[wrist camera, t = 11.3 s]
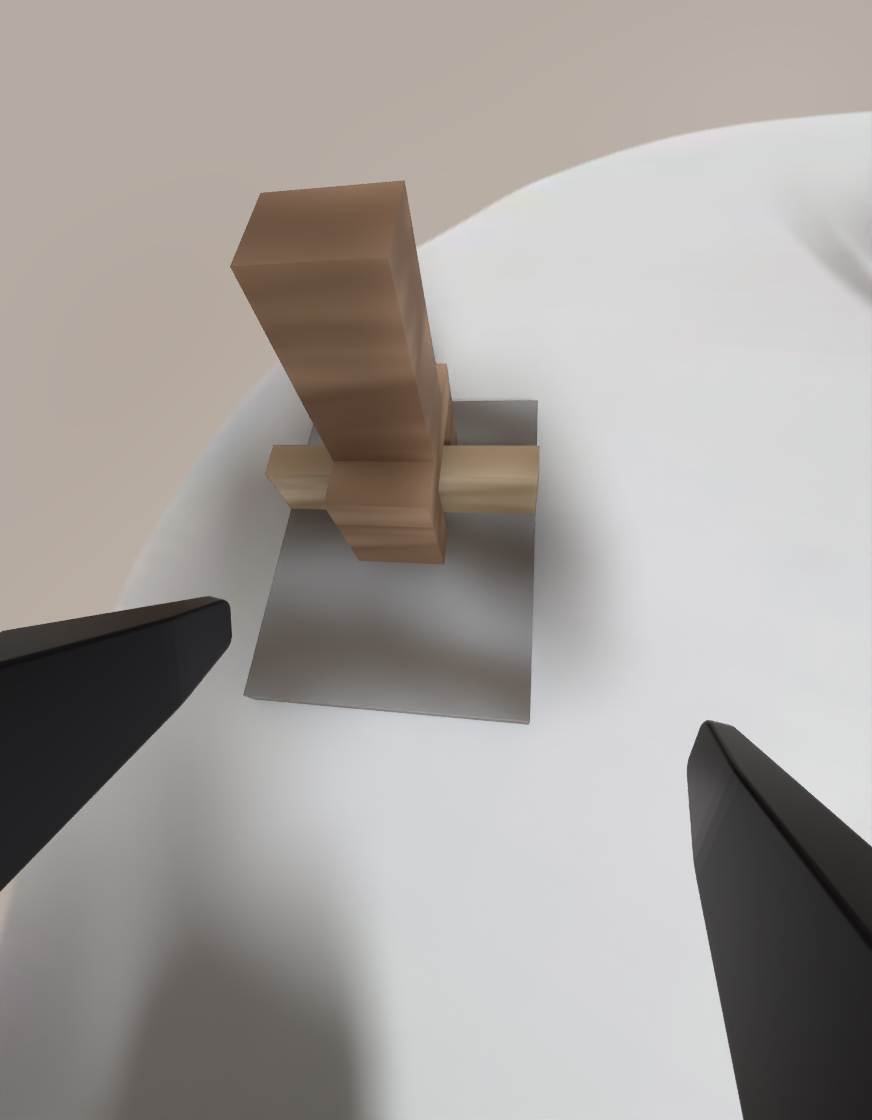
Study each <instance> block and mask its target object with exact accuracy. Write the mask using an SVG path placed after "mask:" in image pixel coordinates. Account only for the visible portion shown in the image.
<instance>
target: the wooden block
mask: <svg viewBox="0 0 872 1120" xmlns="http://www.w3.org/2000/svg"><path fill="white" fill-rule="evenodd" d="M230 267H231V269H232V271H233V273H234V275H235V277H236V279H237V281H238V282H239V284H240V286H241V288H242V290H243V292H244V294H245V295H246V297H247V299H248V301H249V303H250V305H251V307H252V309H253V311H254V313H255V314H256V316H257V318H258V320H259V322H260V324H261V326H262V328H263V330H264V331H265V333H266V335H267V337H268V339H269V341H270V343H271V345H272V346H273V348H274V350H275V352H276V354H277V356H278V358H279V360H280V362H281V363H282V365H283V367H284V369H285V371H286V373H287V375H288V377H289V379H290V380H291V382H292V384H293V386H294V388H295V390H296V392H297V394H298V396H299V397H300V399H301V401H302V403H303V405H304V407H305V409H306V411H307V413H308V414H309V416H310V418H311V420H312V422H313V424H314V426H315V428H316V430H317V431H318V433H319V435H320V437H321V439H322V441H323V443H324V445H325V446H326V448H327V450H328V452H329V454H330V456H331V458H332V460H333V465H332V469H331V473H330V478H329V482H328V487H327V491H326V495H325V500H324V504H323V506H324V507H325V509H326V510H327V512H328V513H329V515H330V516H331V518H332V520H333V521H334V523H335V524H336V526H337V527H338V529H339V530H340V532H341V533H342V535H343V537H344V538H345V540H346V541H347V543H348V544H349V546H350V547H351V549H352V550H353V552H354V554H355V555H356V557H357V558H358V560H359V561H375V562H399V563H422V564H444V560H445V550H446V541H447V532H448V531H447V527H446V522H445V518H444V514H443V510H442V505H441V501H440V497H439V492H438V487H439V479H440V470H441V462H442V454H443V446H444V445H445V446H457V433H456V426H455V419H454V412H453V405H452V398H451V391H450V384H449V377H448V370H447V364H436V363H435V358H434V352H433V346H432V340H431V334H430V328H429V322H428V316H427V310H426V304H425V298H424V292H423V287H422V281H421V275H420V269H419V263H418V257H417V251H416V245H415V240H414V234H413V227H412V222H411V216H410V210H409V204H408V198H407V192H406V186H405V181H396V182H395V181H394V182H383V183H371V184H360V185H348V186H336V187H325V188H313V189H301V190H290V191H278V192H266V193H260V196H259V198H258V200H257V203H256V205H255V208H254V210H253V212H252V215H251V217H250V220H249V222H248V225H247V227H246V230H245V232H244V234H243V237H242V239H241V241H240V244H239V246H238V249H237V252H236V254H235V256H234V258H233V261H232V263H231V266H230Z"/></svg>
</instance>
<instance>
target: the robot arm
mask: <svg viewBox="0 0 872 1120" xmlns="http://www.w3.org/2000/svg"><path fill="white" fill-rule="evenodd" d="M231 638H232V630H231V613H230V606H229V603H228V602H227V601H226V600H223V599H219V598H215V597H211V596H206V597H200V598H194V599H188V600H182V601H177V602H171V603H165V604H159V605H153V606H147V607H141V608H135V609H129V610H123V611H118V612H112V613H106V614H100V615H94V616H89V617H83V618H77V619H70V620H65V621H59V622H53V623H47V624H41V625H35V626H29V627H23V628H17V629H12V630H6V631H2V632H0V891H1V890H2V889H3V888H4V887H5V886H6V885H7V884H8V883H9V882H10V881H11V880H12V879H13V878H14V877H15V876H16V875H17V874H18V873H19V872H20V871H21V870H22V869H23V868H24V867H25V866H26V865H27V864H28V863H29V862H30V860H31V859H32V858H33V857H34V856H35V855H36V854H37V853H38V852H39V851H40V850H41V849H42V848H43V847H44V846H45V845H46V844H47V843H48V842H49V841H50V840H51V839H52V838H53V837H54V836H55V835H56V834H57V833H58V832H59V831H60V830H61V829H62V828H63V827H64V826H65V825H66V824H67V822H68V821H69V820H70V819H71V818H72V817H73V816H74V815H75V814H76V813H77V812H78V811H79V810H80V809H81V808H82V807H83V806H84V805H85V804H86V803H87V802H88V801H89V800H90V799H91V798H92V797H93V796H94V795H95V794H96V793H97V792H98V791H99V790H100V789H101V788H102V787H103V786H104V784H105V783H106V782H107V781H108V780H109V779H110V778H111V777H112V776H113V775H114V774H115V773H116V772H117V771H118V770H119V769H120V768H121V767H122V766H123V765H124V764H125V763H126V762H127V761H128V760H129V759H130V758H131V757H132V756H133V755H134V754H135V753H136V752H137V751H138V750H139V749H140V748H141V746H142V745H143V744H144V743H145V742H146V741H147V740H148V739H149V738H150V737H151V736H152V735H153V734H154V733H155V732H156V731H157V730H158V729H159V728H160V727H161V726H162V725H163V724H164V723H165V722H166V721H167V720H168V719H169V718H170V717H171V716H172V715H173V714H174V713H175V711H176V710H177V709H178V708H179V707H180V706H181V705H182V704H183V703H184V701H185V700H186V699H187V698H188V697H189V696H190V694H191V693H192V692H193V691H194V689H195V688H196V687H197V686H198V684H199V683H200V682H201V681H202V679H203V678H204V677H205V676H206V675H207V673H208V672H209V671H210V670H211V668H212V667H213V666H214V665H215V663H216V662H217V661H218V660H219V658H220V657H221V656H222V655H223V653H224V652H225V651H226V650H227V648H228V647H229V645H230V642H231ZM687 782H688V796H689V809H690V822H691V836H692V849H693V859H694V867H695V873H696V879H697V884H698V889H699V894H700V899H701V905H702V910H703V915H704V920H705V925H706V930H707V935H708V940H709V946H710V951H711V956H712V961H713V966H714V971H715V976H716V981H717V987H718V992H719V997H720V1002H721V1007H722V1012H723V1017H724V1023H725V1028H726V1033H727V1038H728V1043H729V1048H730V1053H731V1058H732V1064H733V1069H734V1074H735V1079H736V1084H737V1089H738V1094H739V1099H740V1105H741V1110H742V1115H743V1120H872V847H871V846H870V845H869V844H868V843H867V842H866V841H865V840H863V839H862V838H861V837H860V836H859V835H858V834H857V833H855V832H854V831H853V830H852V829H851V828H850V827H849V826H847V825H846V824H845V823H844V822H843V821H842V820H840V819H839V818H838V817H837V816H836V815H835V814H834V813H832V812H831V811H830V810H829V809H828V808H827V807H826V806H824V805H823V804H822V803H821V802H820V801H819V800H817V799H816V798H815V797H814V796H813V795H812V794H811V793H809V792H808V791H807V790H806V789H805V788H804V787H803V786H801V785H800V784H799V783H798V782H797V781H796V780H795V779H793V778H792V777H791V776H790V775H789V774H788V773H786V772H785V771H784V770H783V769H782V768H781V767H780V766H778V765H777V764H776V763H775V762H774V761H773V760H772V759H770V758H769V757H768V756H767V755H766V754H765V753H763V752H762V751H761V750H760V749H759V748H758V747H757V746H755V745H754V744H753V743H752V742H751V741H750V740H749V739H747V738H746V737H745V736H744V735H743V734H742V733H741V732H739V731H738V730H737V729H736V728H735V727H733V726H731V725H727V724H723V723H719V722H715V721H711V720H707V721H705V722H703V724H702V725H701V727H700V729H699V732H698V735H697V737H696V740H695V743H694V745H693V748H692V751H691V754H690V756H689V759H688V764H687Z"/></svg>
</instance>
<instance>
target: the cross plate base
mask: <svg viewBox="0 0 872 1120" xmlns="http://www.w3.org/2000/svg"><path fill="white" fill-rule="evenodd" d="M452 405H453V412H454V419H455V426H456V433H457V446H445V445H444V446H443V454H442V462H441V470H440V479H439V487H438V492H439V497H440V501H441V505H442V510H443V514H444V518H445V522H446V527H447V531H448V532H447V541H446V550H445V560H444V564H422V563H399V562H375V561H359V560H358V558H357V557H356V555H355V554H354V552H353V550H352V549H351V547H350V546H349V544H348V543H347V541H346V540H345V538H344V537H343V535H342V533H341V532H340V530H339V529H338V527H337V526H336V524H335V523H334V521H333V520H332V518H331V516H330V515H329V513H328V512H327V510H326V509H325V507H324V506H323V504H324V500H325V495H326V491H327V487H328V482H329V478H330V473H331V469H332V465H333V460H332V458H331V456H330V454H329V452H328V450H327V448H326V446H325V445H324V443H323V441H322V439H321V437H320V435H319V433H318V431H317V430H316V428H315V426H314V424H313V427H312V431H311V435H310V439H309V443H308V445H273V449H272V452H271V456H270V459H269V463H268V466H267V469H266V473H265V475H266V476H267V477H268V479H269V480H270V481H271V483H272V484H273V485H274V486H275V488H276V489H277V490H278V492H279V493H280V494H281V496H282V497H283V498H284V499H285V501H286V502H287V503H288V505H289V506H290V507H291V512H290V516H289V520H288V524H287V528H286V532H285V536H284V540H283V543H282V547H281V551H280V555H279V559H278V563H277V567H276V571H275V575H274V578H273V582H272V586H271V590H270V594H269V598H268V602H267V606H266V609H265V613H264V617H263V621H262V625H261V629H260V633H259V637H258V641H257V644H256V648H255V652H254V656H253V660H252V664H251V668H250V672H249V675H248V679H247V683H246V687H245V691H244V696H247V697H249V698H252V699H257V700H268V701H279V702H290V703H301V704H312V705H323V706H334V707H344V708H355V709H366V710H377V711H388V712H399V713H410V714H421V715H431V716H442V717H453V718H464V719H475V720H486V721H497V722H508V723H518V724H529V722H530V695H531V654H532V614H533V573H534V533H535V509H536V499H537V489H538V479H539V446H537V411H538V401H459V402H452Z"/></svg>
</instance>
